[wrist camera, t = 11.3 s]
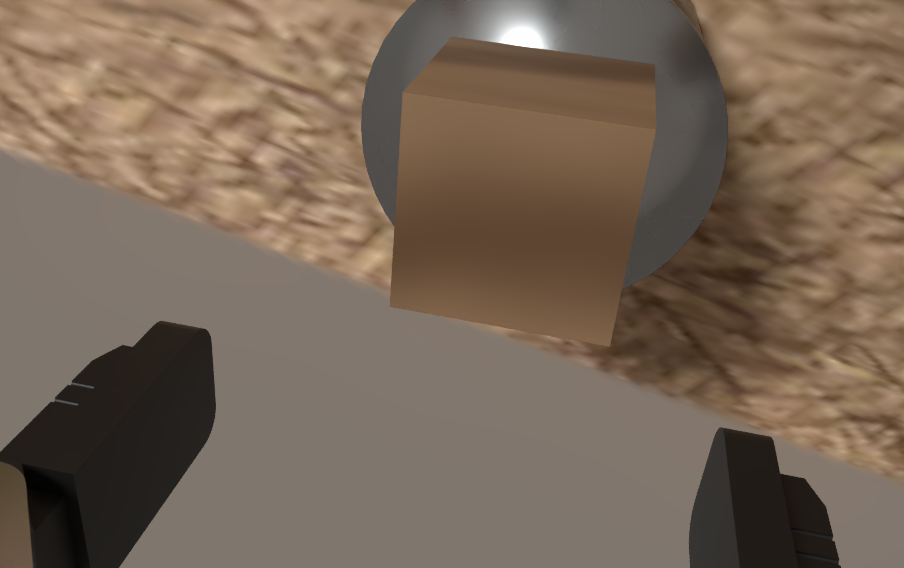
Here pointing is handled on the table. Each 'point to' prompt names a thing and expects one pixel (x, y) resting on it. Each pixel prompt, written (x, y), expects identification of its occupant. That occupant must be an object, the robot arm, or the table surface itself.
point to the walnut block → (521, 187)
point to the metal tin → (589, 33)
